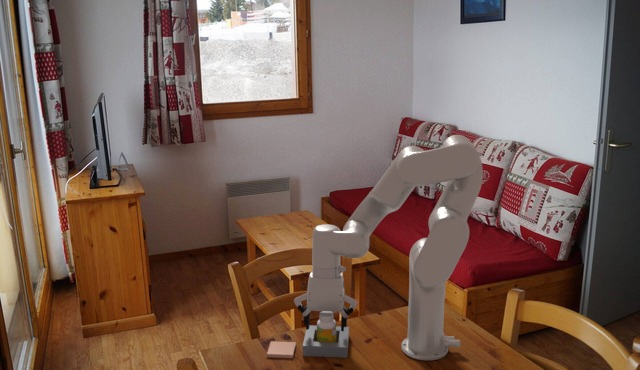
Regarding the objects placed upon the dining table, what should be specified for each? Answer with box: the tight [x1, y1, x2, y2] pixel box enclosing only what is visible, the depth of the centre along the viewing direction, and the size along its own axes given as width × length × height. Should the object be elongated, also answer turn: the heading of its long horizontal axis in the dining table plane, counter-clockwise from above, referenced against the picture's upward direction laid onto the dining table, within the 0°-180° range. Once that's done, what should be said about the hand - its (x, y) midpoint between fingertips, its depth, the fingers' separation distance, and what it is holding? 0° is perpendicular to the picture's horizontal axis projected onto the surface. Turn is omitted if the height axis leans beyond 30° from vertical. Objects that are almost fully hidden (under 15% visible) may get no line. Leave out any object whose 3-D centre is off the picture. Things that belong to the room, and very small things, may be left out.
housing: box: [302, 324, 350, 359], centre depth 179 cm, size 12×12×3 cm
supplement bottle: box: [316, 311, 337, 343], centre depth 178 cm, size 5×5×10 cm
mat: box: [266, 340, 297, 359], centre depth 177 cm, size 7×7×1 cm
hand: (325, 328), depth 178 cm, fingers open, 9 cm apart
